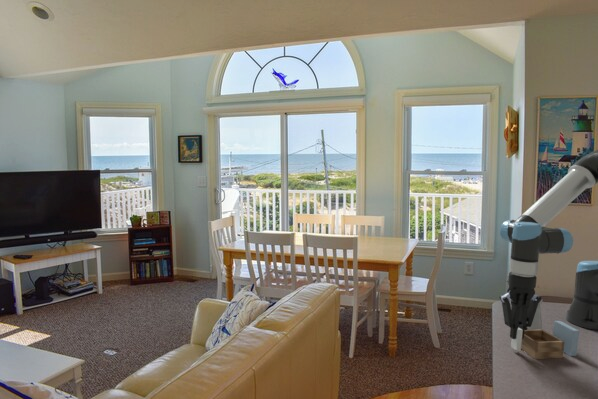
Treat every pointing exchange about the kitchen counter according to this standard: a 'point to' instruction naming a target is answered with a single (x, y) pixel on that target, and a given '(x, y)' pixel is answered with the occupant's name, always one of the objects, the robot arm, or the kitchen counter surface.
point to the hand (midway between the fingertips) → (515, 348)
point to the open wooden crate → (542, 344)
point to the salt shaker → (537, 319)
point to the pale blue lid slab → (567, 337)
